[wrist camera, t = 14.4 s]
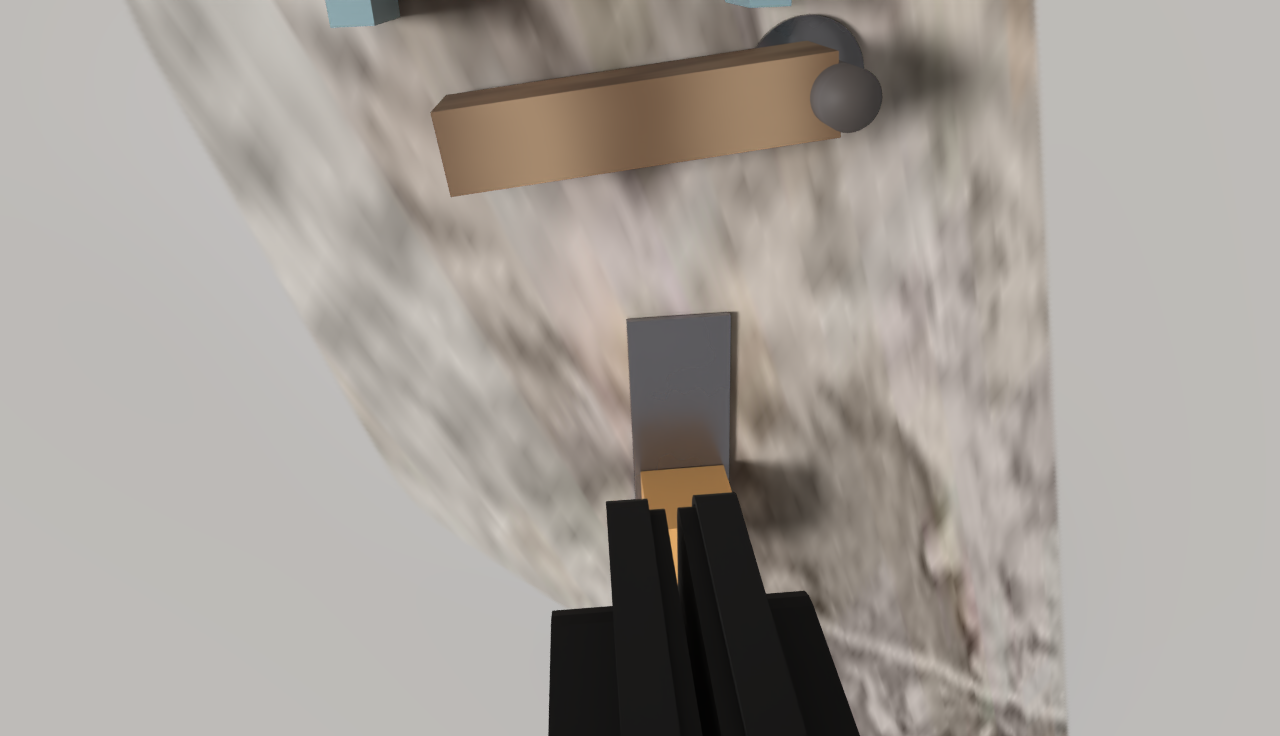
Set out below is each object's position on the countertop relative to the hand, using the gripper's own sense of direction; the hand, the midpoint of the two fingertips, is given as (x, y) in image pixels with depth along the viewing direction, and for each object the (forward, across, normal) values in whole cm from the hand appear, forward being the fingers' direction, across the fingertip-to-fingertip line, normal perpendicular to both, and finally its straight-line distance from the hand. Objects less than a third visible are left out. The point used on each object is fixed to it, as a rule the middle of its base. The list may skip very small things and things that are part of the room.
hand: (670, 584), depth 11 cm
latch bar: (+20, -1, -2) cm, 20 cm away
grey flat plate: (+20, -2, +11) cm, 23 cm away
